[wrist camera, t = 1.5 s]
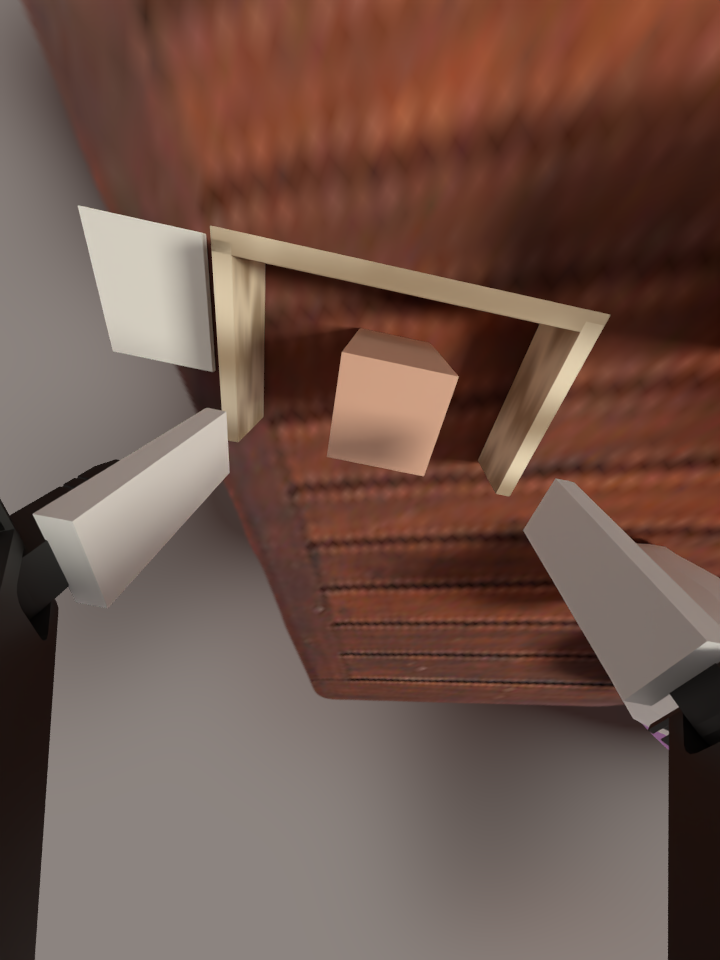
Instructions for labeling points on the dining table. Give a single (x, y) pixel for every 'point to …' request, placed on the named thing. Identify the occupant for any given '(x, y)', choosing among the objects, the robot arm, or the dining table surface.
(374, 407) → the terracotta block
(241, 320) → the frame
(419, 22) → the dining table surface
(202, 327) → the white tile
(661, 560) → the vase
